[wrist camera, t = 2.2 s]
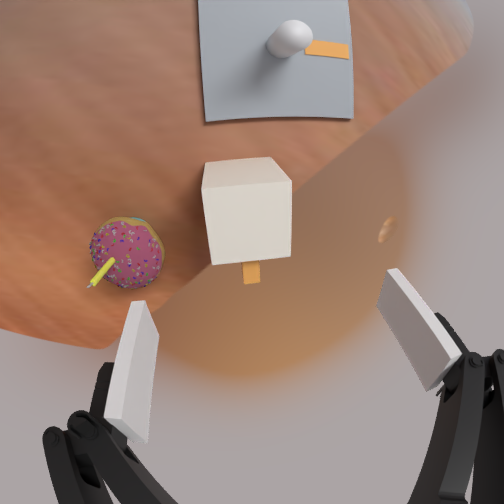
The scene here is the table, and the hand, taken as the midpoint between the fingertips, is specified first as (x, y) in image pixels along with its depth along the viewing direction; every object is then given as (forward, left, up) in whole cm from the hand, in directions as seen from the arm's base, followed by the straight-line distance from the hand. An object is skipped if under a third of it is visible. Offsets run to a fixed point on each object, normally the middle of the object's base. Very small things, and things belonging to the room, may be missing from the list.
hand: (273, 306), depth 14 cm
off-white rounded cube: (0, -2, -19) cm, 19 cm away
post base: (+5, +16, -19) cm, 25 cm away
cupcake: (-13, -4, -19) cm, 23 cm away
